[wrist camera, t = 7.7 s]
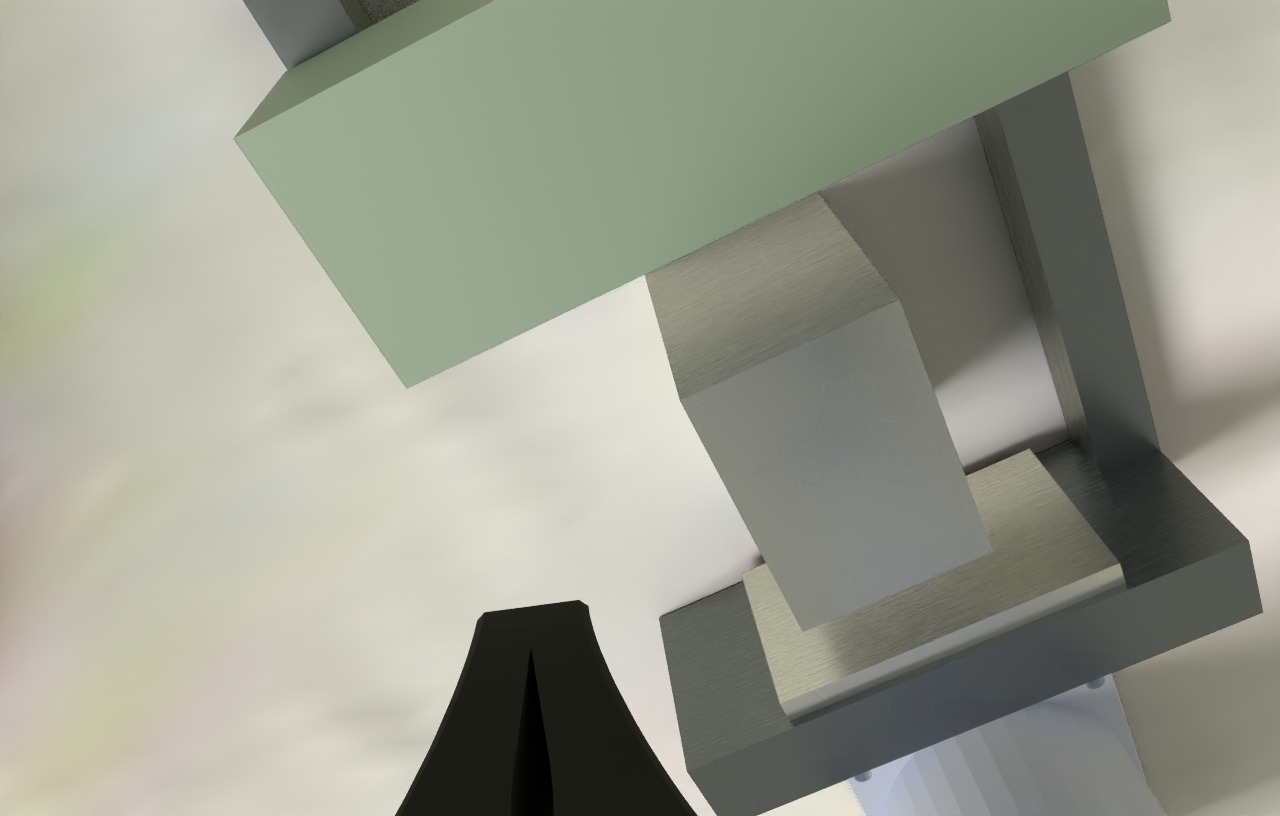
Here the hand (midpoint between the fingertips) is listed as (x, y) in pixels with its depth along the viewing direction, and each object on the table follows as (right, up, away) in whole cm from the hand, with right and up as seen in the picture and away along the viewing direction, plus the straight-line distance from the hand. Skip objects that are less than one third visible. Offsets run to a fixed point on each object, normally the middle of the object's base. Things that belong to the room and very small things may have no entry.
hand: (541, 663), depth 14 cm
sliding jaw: (+2, +11, +6) cm, 12 cm away
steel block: (+4, +5, +10) cm, 12 cm away
